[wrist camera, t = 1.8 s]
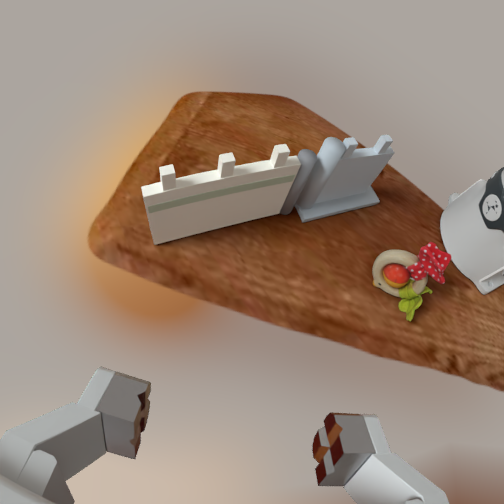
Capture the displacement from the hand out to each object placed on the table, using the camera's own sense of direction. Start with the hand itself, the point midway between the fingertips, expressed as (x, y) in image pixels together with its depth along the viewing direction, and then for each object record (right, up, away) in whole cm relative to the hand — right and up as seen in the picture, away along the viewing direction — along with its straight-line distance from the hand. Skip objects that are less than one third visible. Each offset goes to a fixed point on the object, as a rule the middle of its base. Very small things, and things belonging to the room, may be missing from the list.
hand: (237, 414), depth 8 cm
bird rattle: (+18, -1, +32) cm, 37 cm away
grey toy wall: (+12, +12, +36) cm, 40 cm away
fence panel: (-3, +8, +31) cm, 33 cm away
